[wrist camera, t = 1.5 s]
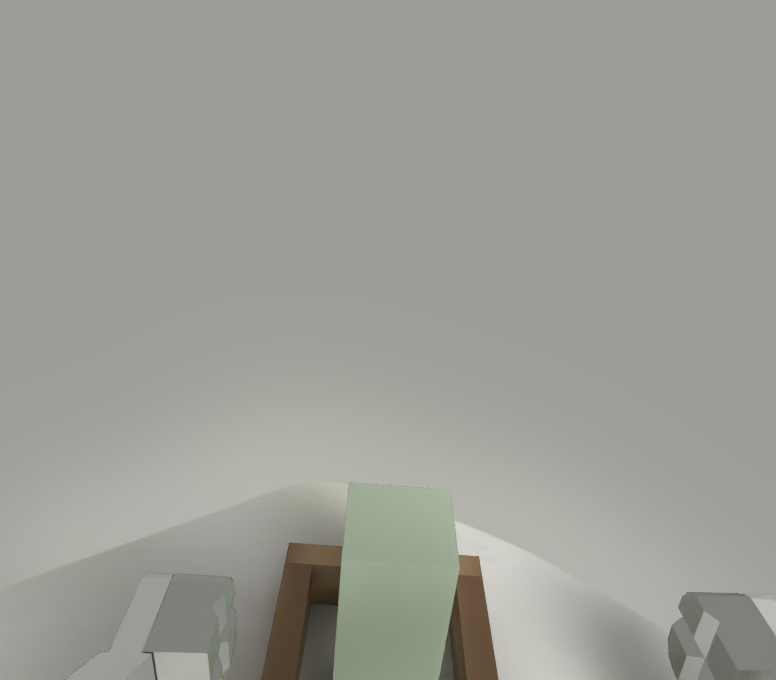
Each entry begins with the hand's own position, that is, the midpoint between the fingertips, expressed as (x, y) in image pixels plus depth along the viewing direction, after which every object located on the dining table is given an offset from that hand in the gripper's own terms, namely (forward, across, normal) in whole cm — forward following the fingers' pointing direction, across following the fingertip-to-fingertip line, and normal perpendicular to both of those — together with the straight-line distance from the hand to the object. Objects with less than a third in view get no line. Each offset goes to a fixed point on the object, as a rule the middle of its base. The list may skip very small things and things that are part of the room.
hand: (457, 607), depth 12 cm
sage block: (+12, +1, +21) cm, 24 cm away
